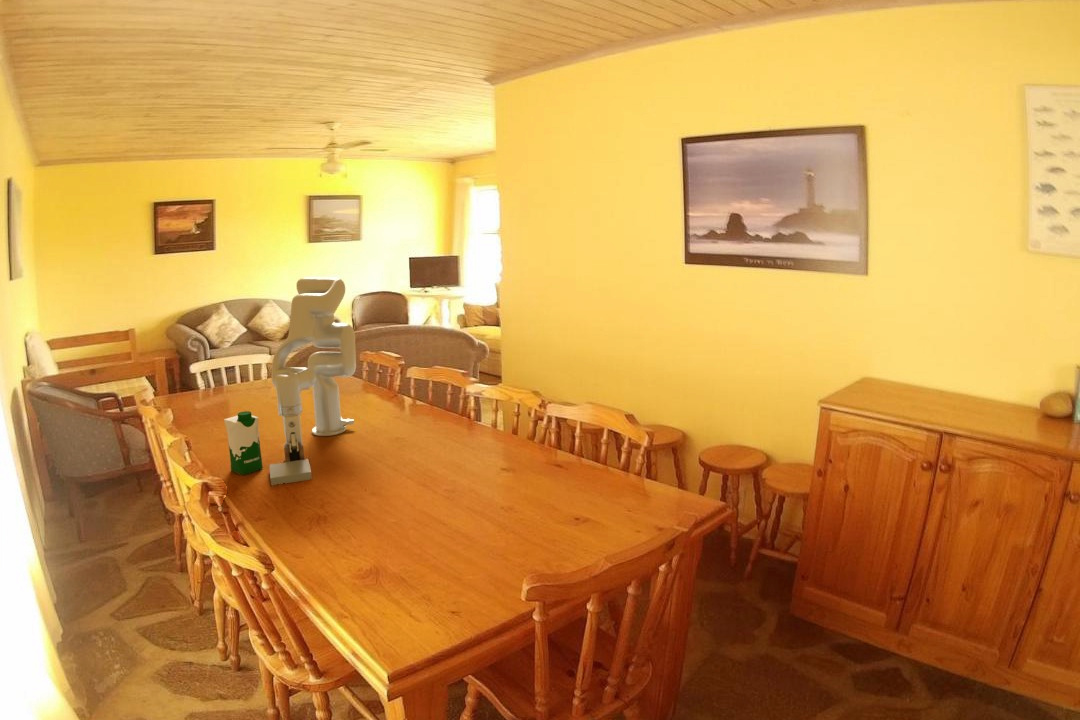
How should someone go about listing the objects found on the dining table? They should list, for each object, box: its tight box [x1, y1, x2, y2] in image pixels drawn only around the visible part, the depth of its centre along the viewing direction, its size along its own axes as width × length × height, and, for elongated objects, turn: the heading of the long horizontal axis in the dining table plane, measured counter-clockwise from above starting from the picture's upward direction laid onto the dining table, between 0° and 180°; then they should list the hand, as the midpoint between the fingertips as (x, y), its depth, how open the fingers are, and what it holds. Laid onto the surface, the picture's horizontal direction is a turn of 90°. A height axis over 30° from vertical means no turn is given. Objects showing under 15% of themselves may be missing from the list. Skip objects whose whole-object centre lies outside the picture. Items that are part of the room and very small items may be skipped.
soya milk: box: [223, 410, 264, 476], centre depth 208 cm, size 9×9×20 cm
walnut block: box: [283, 441, 305, 462], centre depth 217 cm, size 6×6×6 cm
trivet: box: [269, 458, 313, 486], centre depth 205 cm, size 12×12×2 cm
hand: (294, 458), depth 217 cm, fingers closed on walnut block, 6 cm apart
